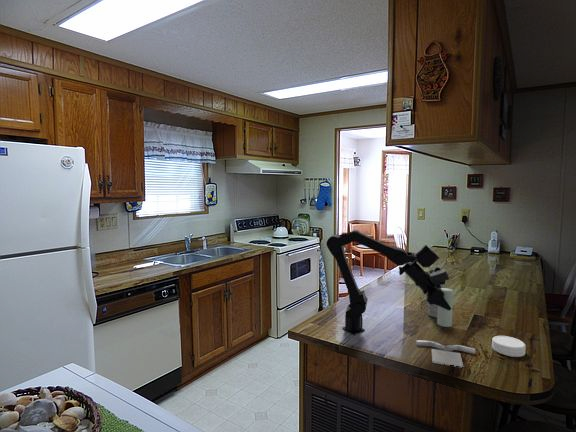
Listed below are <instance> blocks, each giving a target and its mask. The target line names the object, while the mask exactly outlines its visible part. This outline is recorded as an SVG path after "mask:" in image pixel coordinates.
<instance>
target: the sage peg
mask: <svg viewBox="0 0 576 432" xmlns="http://www.w3.org/2000/svg"><path fill="white" fill-rule="evenodd" d="M441 289H442V290H443V291H444V293H445V295H444V298H445V300H446V301H447V303H448V304H449V306H450V307H451V310H447V309H444V308H442V307H440V306H438V314H437V319H436V324H437V325H438V326H441V327H444V328H445V327H446V328H449V327H452V326H453V308H454V304H453V303H454V302H453V301H454V290H453V289H451V288H447V287H445V288H441Z"/></svg>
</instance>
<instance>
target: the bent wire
mask: <svg viewBox="0 0 576 432" xmlns="http://www.w3.org/2000/svg"><path fill="white" fill-rule="evenodd" d="M415 343H416V344H415V345H416V346H418V347H419V346H420V347H431V348H432V347H433V348H434V349H437V350H442V351H449V352H454V351H453V350H457V351H460V352H464V353H467V354H468V353H469V354H472V355H475V354H476V348H474V347H469V346H466V345H461V344H451V345H450V344H449V345H445V344H441V343H438V342H436V341H433V340H424V339H423V340H421V339H419V340H417V339H416V342H415Z"/></svg>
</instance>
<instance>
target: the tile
mask: <svg viewBox="0 0 576 432" xmlns="http://www.w3.org/2000/svg"><path fill="white" fill-rule="evenodd" d="M461 355H462V354H461V353H460V352H456V351H455V352H454V351H443V350H440V349H437V348H431V360H432V363H433V364H439V365H444V364H445V365H444V366H450V365H454V366H453V367H456V366H459V367H458V368H462V367H463V368H464V362H463V359H462V356H461Z"/></svg>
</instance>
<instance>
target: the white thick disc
mask: <svg viewBox="0 0 576 432" xmlns="http://www.w3.org/2000/svg"><path fill="white" fill-rule="evenodd" d="M491 338H492V339H491V348H492V349H493V350H494V351H495V352H496V353H499V354H500V355H504V356H508V357H512V358H513V357H515V358H522V357H524V356H525V355H526V343H524V341H522V340H520V339H518V338H515V337H512V336H507V335H496V336H493V337H491Z"/></svg>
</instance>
